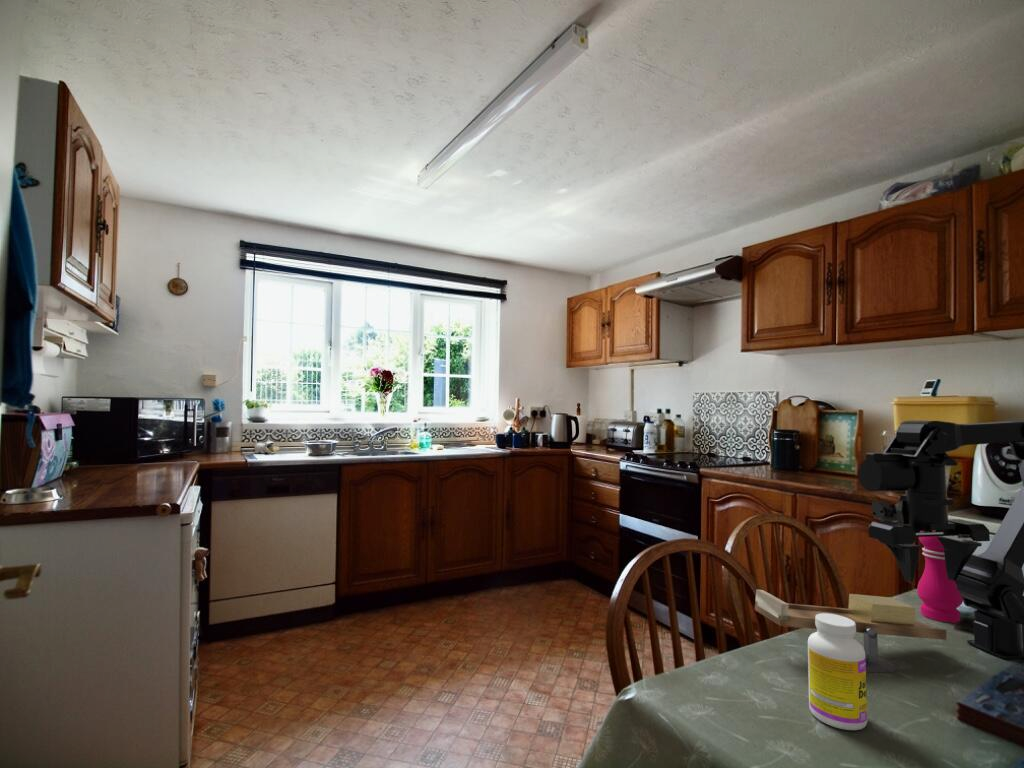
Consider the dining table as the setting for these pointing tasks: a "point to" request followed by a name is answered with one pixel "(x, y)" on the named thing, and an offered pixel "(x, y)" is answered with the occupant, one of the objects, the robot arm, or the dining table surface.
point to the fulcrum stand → (874, 653)
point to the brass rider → (880, 610)
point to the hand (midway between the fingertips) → (930, 581)
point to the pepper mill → (937, 585)
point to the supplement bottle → (837, 673)
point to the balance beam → (806, 614)
